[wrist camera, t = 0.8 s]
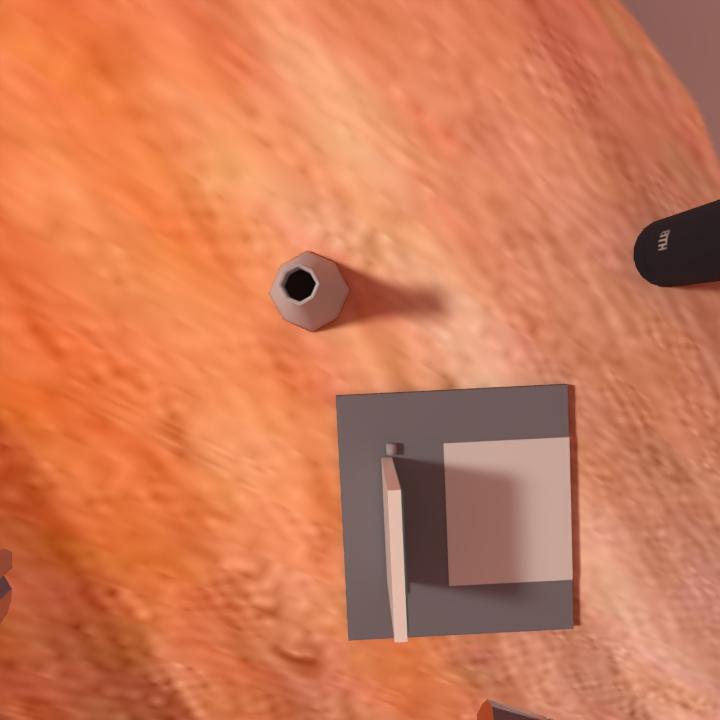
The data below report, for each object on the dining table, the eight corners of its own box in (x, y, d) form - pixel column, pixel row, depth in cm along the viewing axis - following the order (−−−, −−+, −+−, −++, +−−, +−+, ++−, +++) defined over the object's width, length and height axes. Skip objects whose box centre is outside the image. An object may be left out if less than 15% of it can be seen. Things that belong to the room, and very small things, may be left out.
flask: (363, 289, 51) (365, 281, 41) (312, 345, 51) (301, 351, 41) (307, 237, 51) (295, 216, 41) (255, 293, 51) (231, 286, 41)
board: (570, 624, 53) (577, 634, 52) (348, 635, 53) (348, 645, 51) (564, 383, 52) (571, 385, 50) (336, 395, 52) (335, 397, 50)
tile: (399, 580, 52) (410, 641, 42) (387, 580, 52) (394, 642, 42) (393, 457, 51) (403, 489, 41) (381, 457, 51) (387, 490, 41)
